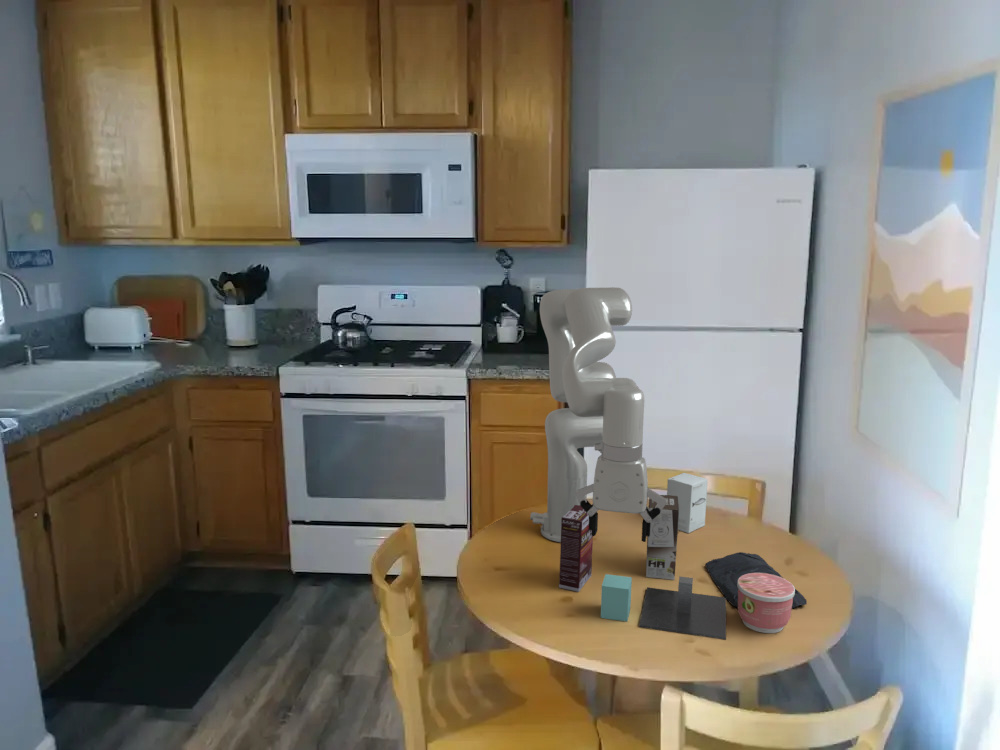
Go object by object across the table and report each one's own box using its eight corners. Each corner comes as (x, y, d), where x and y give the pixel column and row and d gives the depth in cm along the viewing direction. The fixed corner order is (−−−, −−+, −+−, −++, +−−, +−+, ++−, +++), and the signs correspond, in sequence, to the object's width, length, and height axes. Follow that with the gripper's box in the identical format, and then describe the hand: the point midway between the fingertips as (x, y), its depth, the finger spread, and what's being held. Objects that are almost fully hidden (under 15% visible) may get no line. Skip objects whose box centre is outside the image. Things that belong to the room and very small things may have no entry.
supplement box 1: (579, 593, 164) (581, 521, 161) (558, 588, 166) (559, 517, 163) (593, 575, 172) (595, 507, 168) (572, 571, 174) (573, 503, 170)
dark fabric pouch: (766, 562, 178) (767, 543, 177) (811, 610, 157) (813, 588, 156) (700, 564, 177) (701, 544, 176) (737, 613, 156) (738, 591, 155)
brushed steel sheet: (639, 627, 151) (640, 593, 149) (647, 589, 166) (648, 558, 164) (725, 639, 146) (728, 604, 145) (725, 599, 161) (728, 567, 160)
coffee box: (675, 580, 170) (679, 510, 166) (645, 577, 171) (648, 507, 167) (675, 562, 178) (678, 495, 175) (646, 559, 180) (649, 492, 176)
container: (729, 608, 158) (732, 571, 156) (783, 610, 157) (786, 573, 155) (741, 636, 148) (744, 596, 146) (798, 638, 147) (802, 598, 145)
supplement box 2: (689, 534, 194) (691, 485, 191) (664, 525, 199) (666, 478, 197) (705, 526, 199) (708, 478, 196) (681, 517, 204) (683, 471, 201)
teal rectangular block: (600, 617, 154) (601, 585, 153) (604, 605, 159) (605, 574, 157) (627, 621, 153) (628, 589, 151) (630, 608, 157) (631, 577, 156)
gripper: (573, 453, 148) (571, 538, 151) (667, 461, 143) (663, 549, 146) (580, 442, 155) (578, 524, 158) (669, 449, 150) (665, 533, 153)
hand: (619, 536), depth 152 cm, fingers open, 9 cm apart
